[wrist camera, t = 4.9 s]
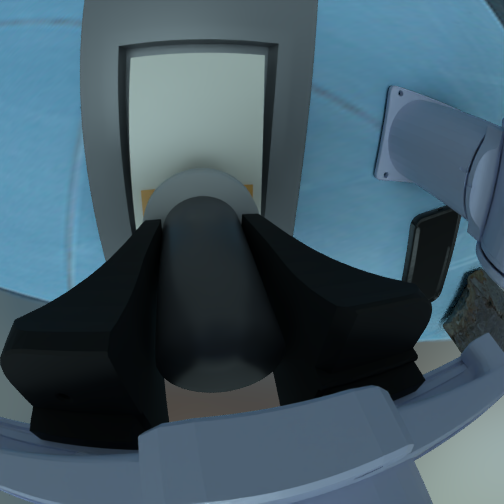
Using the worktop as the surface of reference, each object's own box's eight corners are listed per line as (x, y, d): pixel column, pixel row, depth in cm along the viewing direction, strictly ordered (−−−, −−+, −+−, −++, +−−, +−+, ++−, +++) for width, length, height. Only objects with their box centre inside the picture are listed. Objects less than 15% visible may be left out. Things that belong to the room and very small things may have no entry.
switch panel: (308, 1, 13) (332, -10, 10) (282, 253, 24) (296, 280, 21) (91, 3, 10) (73, -10, 7) (113, 265, 21) (105, 295, 18)
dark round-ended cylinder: (251, 155, 13) (346, 281, 6) (239, 240, 15) (291, 395, 8) (150, 150, 12) (99, 284, 4) (150, 239, 14) (137, 406, 7)
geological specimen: (456, 314, 40) (501, 374, 28) (434, 323, 39) (481, 390, 27) (481, 266, 34) (538, 329, 22) (460, 272, 33) (522, 344, 21)
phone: (397, 318, 33) (415, 221, 24) (392, 313, 34) (409, 215, 25) (439, 297, 34) (464, 204, 25) (435, 292, 35) (457, 199, 26)
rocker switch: (261, 58, 13) (265, 54, 12) (257, 226, 17) (260, 231, 17) (133, 61, 12) (130, 57, 11) (139, 233, 16) (136, 239, 15)
